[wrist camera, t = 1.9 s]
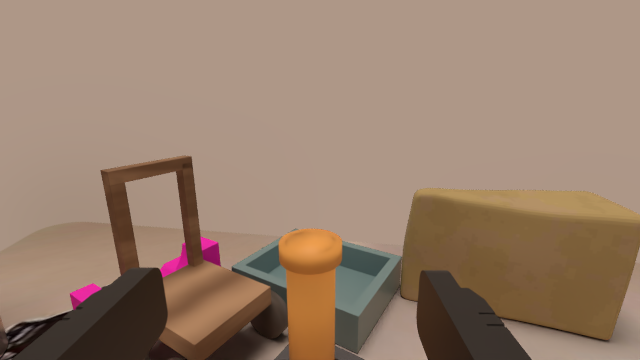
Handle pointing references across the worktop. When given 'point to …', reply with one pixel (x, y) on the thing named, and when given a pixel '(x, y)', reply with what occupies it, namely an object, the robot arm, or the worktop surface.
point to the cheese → (527, 253)
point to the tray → (339, 286)
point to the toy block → (209, 254)
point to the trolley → (193, 272)
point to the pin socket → (341, 356)
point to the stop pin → (311, 291)
